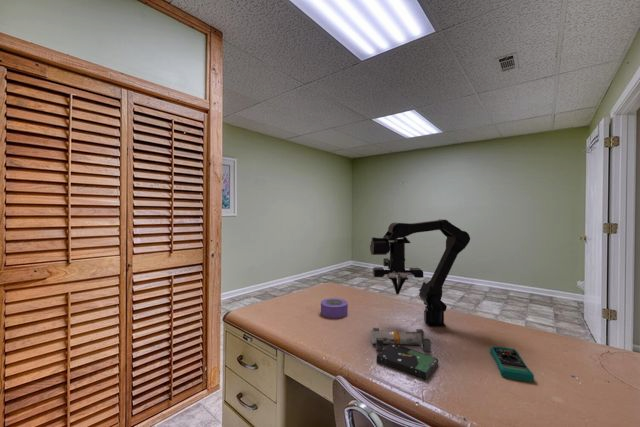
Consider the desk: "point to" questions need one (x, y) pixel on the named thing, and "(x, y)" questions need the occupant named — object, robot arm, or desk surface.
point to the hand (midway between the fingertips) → (397, 294)
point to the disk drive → (408, 361)
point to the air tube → (397, 337)
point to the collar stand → (425, 341)
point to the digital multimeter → (511, 364)
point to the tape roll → (334, 308)
